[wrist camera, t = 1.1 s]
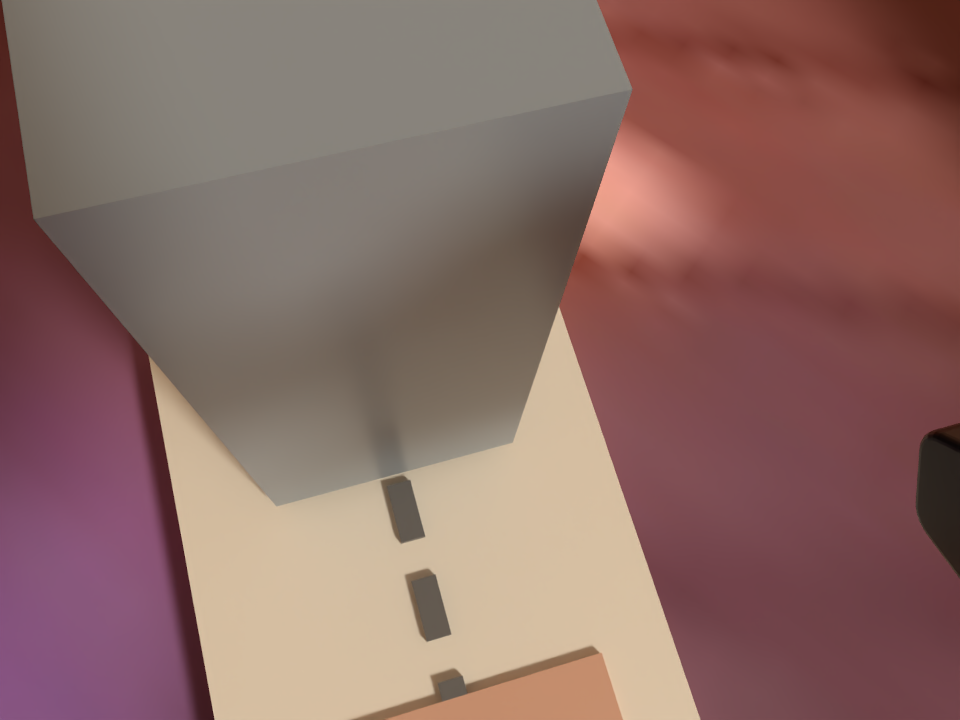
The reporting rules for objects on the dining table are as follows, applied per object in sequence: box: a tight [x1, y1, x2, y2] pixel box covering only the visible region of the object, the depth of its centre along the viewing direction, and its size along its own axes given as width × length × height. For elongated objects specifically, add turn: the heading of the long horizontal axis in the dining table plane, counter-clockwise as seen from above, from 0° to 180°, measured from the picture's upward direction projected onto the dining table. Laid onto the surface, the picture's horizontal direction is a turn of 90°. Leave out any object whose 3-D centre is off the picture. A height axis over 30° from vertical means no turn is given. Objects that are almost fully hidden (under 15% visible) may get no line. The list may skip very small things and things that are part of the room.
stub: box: [2, 0, 632, 506], centre depth 14 cm, size 4×5×12 cm
